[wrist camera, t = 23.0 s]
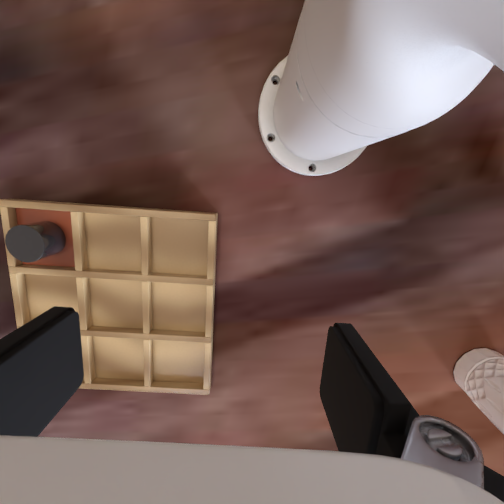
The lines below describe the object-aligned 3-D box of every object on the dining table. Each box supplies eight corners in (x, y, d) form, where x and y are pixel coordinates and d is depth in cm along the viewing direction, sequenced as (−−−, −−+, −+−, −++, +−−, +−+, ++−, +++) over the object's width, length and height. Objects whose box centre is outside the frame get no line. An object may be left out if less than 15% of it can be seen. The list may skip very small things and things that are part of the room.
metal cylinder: (29, 219, 31) (2, 223, 28) (64, 221, 31) (42, 226, 28) (33, 253, 32) (7, 261, 29) (67, 255, 32) (46, 263, 29)
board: (12, 198, 32) (-2, 199, 30) (217, 212, 32) (216, 214, 30) (35, 376, 37) (24, 385, 35) (210, 385, 38) (208, 395, 36)
